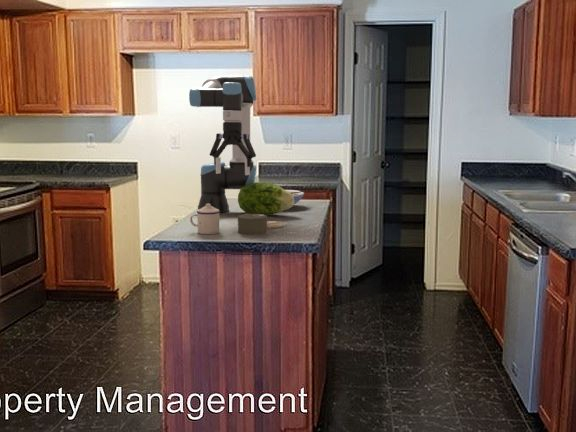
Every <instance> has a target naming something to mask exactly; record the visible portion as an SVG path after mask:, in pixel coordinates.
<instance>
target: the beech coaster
mask: <svg viewBox="0 0 576 432" xmlns="http://www.w3.org/2000/svg"><path fill="white" fill-rule="evenodd" d="M283 225H284V224H283V222H281V221H277V220H276V221H275V220H273V221H272V220H267V229H279V228H280V229H281V228H282V227H283Z"/></svg>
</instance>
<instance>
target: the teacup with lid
mask: <svg viewBox="0 0 576 432" xmlns="http://www.w3.org/2000/svg"><path fill="white" fill-rule="evenodd" d="M219 212H220V211H219V209H216V208H214V207H212V206H211V204H206V206H205V207H203V208H201V209H198V208H197V210H196V213H195V214H192V215H190V218H189V222H190V223H191V225H192V226H193V227H196V228H197V233H198V234H200V235H216V234H219V233H220V213H221V212H220V213H219ZM194 217H197V224H196V223H194V222H193V218H194Z"/></svg>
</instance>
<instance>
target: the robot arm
mask: <svg viewBox="0 0 576 432" xmlns="http://www.w3.org/2000/svg"><path fill="white" fill-rule="evenodd" d="M256 92H257V91H256V85H255V79H254V77H253V76H251V75H245V74H243V75H240V74H239V75H217V76H213V77H210V78H207V80H205V81H204V82H203V83H202V85H201V87H196V88H190V89H189V93H188V94H189V97H188V100H189V105H190V106H191V107H196V108H202V107H203V108H204V107H205V108H207V107H208V108H209V107H210V108H211V107H213V108H214V107H215V108H222V121H223V123H222V131H223V133H220V132H219V133H216V135H215V140H214V142H213V145H212V147H211V150H210V152H209V156H211V157H213V162H210V163H206V164H203V165H202V166H201V167H200V174H199V176H200V194H201V195H200V198H199V201H198V205H197V210H198V209H201V208H203V207H205V206H206V204H211V206H212V207H214V208H216V209H219V211H220V212H219V214H221V213H225V212H226V213H227V212H229V211H230V205H229V202H228V198H227V196H226V190H240V189H241V188H242V187H244V186H245V185H247V184H251V183H256V173H257V165H256V164H254V161H253V159H254V158H256V157H257V154H256V152H255V149H254V147H253V145H252V143H251V109H252V107H253V106H254V102H255V101H257V93H256ZM222 139H223V141H222ZM220 144H221V145H220ZM231 145H232V154H231V155H232V158H231V159H230V160H229V164H227V165H226V163H225V161H221V160H222V159H221V157H220V156H221V154H222V153H223V151H224V150H225V149H226V147H227V146H231Z"/></svg>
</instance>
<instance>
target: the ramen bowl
mask: <svg viewBox="0 0 576 432" xmlns="http://www.w3.org/2000/svg"><path fill="white" fill-rule="evenodd" d="M285 190H286V191H288V192H290V193H291V194H292V195H293V196H294V205H296V204H298V203H299V202H300V200H301V199H302V198H303V196H305V192H307V190H304V191H303V190H295V189H285Z"/></svg>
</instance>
